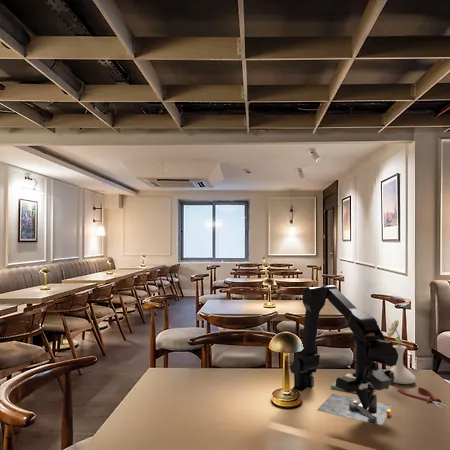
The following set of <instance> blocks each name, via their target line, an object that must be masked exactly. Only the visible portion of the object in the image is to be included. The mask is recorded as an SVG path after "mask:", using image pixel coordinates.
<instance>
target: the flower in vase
mask: <svg viewBox="0 0 450 450" xmlns="http://www.w3.org/2000/svg"><path fill="white" fill-rule="evenodd" d="M399 324H400V321H399V319H395V320H394V321H393V322H391V326H390V328H388V332H387V334H386V336H387V338H391V337H392V336H393V335H394V334H395V333H396V334H397V336H396V338H395V341H396V343H397V344H396V345H394V344H393V347H395V348H396V350H397V353H398V360H397V363H396V364H395V365H394V366H392V367H391V368H390V369H389V370H391V371H392V372H394V384H399V385H409V384H414V383H415V382H416V380H417V377H416V376H415V375H414V374H413V373H412V372H411V371H410V370H409V369H408V368H406V366H405V365H404V353H405V352H406V351H405V350H406V349H407V346H405V345H401V344H403V340H402V339H401V337H400V334H399V331H398V330H397V329H398V326H399Z"/></svg>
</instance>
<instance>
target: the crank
mask: <svg viewBox="0 0 450 450" xmlns="http://www.w3.org/2000/svg"><path fill="white" fill-rule="evenodd" d="M377 402H378V401H377V394H375V393H373V395H372V397H371V400H370V403H369V406H368V408H367V410H365V409H364V408H363V406H362V404H361V402H360V401H359V400H357V399H350V400H349V407H350V408H353V409H360V410H362V411H364V412H366V413H368V414H371V415H372V414H376V413H377Z"/></svg>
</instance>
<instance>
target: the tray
mask: <svg viewBox="0 0 450 450" xmlns="http://www.w3.org/2000/svg"><path fill="white" fill-rule="evenodd" d="M339 377H343V375H342V376H341V375H340V376H339ZM330 389H331V390H332V389H333V390H337V391H342V392H346V391H345V390H343V389H340V388H338V387H336V380H335V381H333V383H332V384H331V385H330ZM351 393H353V394H357V393H356V391H354V392H351Z"/></svg>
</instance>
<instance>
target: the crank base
mask: <svg viewBox="0 0 450 450" xmlns="http://www.w3.org/2000/svg"><path fill="white" fill-rule="evenodd" d="M350 399H357V400H359V401H360V399H359V397H352V396H349V395H344V394H338V393H331V394H330V396H329V397H327V399H326V400H325V401H324V402H323V403H322V404H321V405H320V406H319V407H318V408H317V410H316V411H318V412H322V413H326V414H332V415H335V416H339V417H344V418H349V419H353V420H358V421H362V422H366V423H369V424H375V425H379V426H383V425H384V423H385V420H386V419H387V417H389V418H391V417H392V406H393V404H387V403H383V402H378V401H377V413H376V414H372V415H371V414H368V413H366V412H364V411H362V410H360V409H353V408H350V407H349V400H350Z"/></svg>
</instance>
